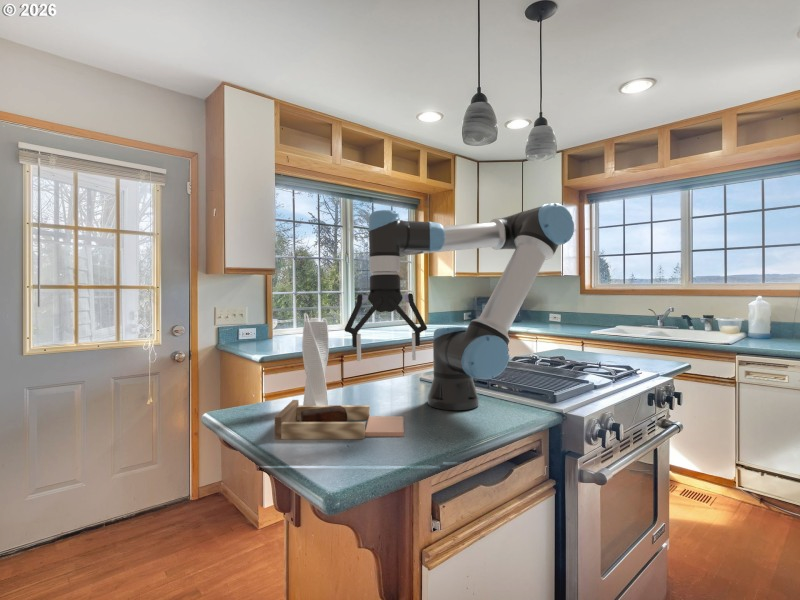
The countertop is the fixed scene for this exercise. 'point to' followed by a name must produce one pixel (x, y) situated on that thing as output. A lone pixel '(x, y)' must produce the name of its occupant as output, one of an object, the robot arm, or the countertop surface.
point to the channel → (320, 423)
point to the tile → (385, 426)
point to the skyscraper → (315, 360)
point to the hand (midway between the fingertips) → (386, 360)
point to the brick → (325, 414)
